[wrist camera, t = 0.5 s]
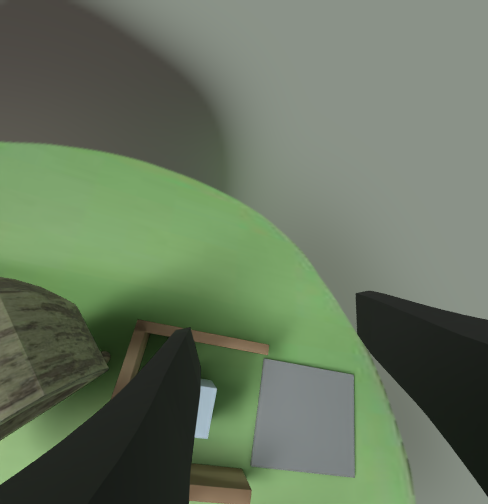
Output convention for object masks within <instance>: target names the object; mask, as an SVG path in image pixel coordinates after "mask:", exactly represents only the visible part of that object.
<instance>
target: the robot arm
mask: <svg viewBox="0 0 488 504" xmlns="http://www.w3.org/2000/svg"><path fill="white" fill-rule="evenodd" d="M356 314H357V334H358V336H359V337H360V339H361V340H362V342H363V343H364V345H365V346H366V347H367V349H368V350H369V352H370V353H371V354H372V355H373V357H374V358H375V359H376V360H377V361H378V362H379V363H380V364H381V365H382V366H383V368H384V369H385V370H386V371H387V372H388V373H389V374H390V375H391V376H392V377H393V378H394V379H395V381H396V382H397V383H398V384H399V385H400V386H401V387H402V388H403V389H404V390H405V391H406V393H408V395H409V396H410V397H411V398H412V399H413V400H414V401H415V402H416V403H417V405H418V406H419V407H420V408H421V409H422V410H423V412H424V413H425V414H426V415H427V416H428V417H429V418H430V420H431V421H432V423H433V424H434V425H435V426H436V428H437V429H438V430H439V432H440V433H441V434H442V435H443V437H444V438H445V439H446V441H447V442H448V443H449V444H450V445H451V447H452V448H453V450H454V451H455V453H456V454H457V455H458V457H459V458H460V459H461V460H462V462H463V463H464V465H465V466H466V467H467V469H468V470H469V471H470V473H471V474H472V475H473V477H474V478H475V479H476V481H477V482H478V484H479V485H480V486H481V488H482V489H483V491H484V492H485V493H486V495H487V496H488V320H486V319H480V318H475V317H471V316H467V315H462V314H458V313H454V312H450V311H445V310H441V309H438V308H434V307H430V306H426V305H423V304H419V303H415V302H412V301H408V300H405V299H401V298H398V297H394V296H390V295H387V294H383V293H379V292H374V291H365V292H360V293H356ZM200 392H201V366H200V362H199V359H198V355H197V351H196V347H195V343H194V339H193V335H192V331H191V327H188V328H183V329H179V330H175V331H174V333H173V334H172V335H171V336H170V337H169V338H168V339H167V341H166V342H165V343H164V344H163V345H162V347H161V348H160V349H159V350H158V351H157V352H156V354H155V355H154V356H153V357H152V358H151V359H150V360H149V362H148V363H147V364H146V365H145V366H144V367H143V368H142V369H141V370H140V371H139V372H138V373H137V374H136V375H135V377H134V378H133V379H132V380H131V381H130V382H129V383H128V384H127V385H126V386H125V387H124V388H123V389H122V390H121V391H120V392H119V393H118V394H117V395H116V396H114V397H113V398H112V399H111V400H110V401H109V402H108V403H107V404H106V405H105V406H103V407H102V408H101V409H100V410H99V411H98V412H97V413H95V414H94V415H93V416H92V417H91V418H89V419H88V420H87V421H86V422H84V423H83V424H82V425H81V426H79V427H78V428H77V429H76V430H75V431H73V432H72V433H71V434H70V435H68V436H67V437H66V438H65V439H63V440H62V441H61V442H60V443H58V444H57V445H56V446H54V447H53V448H52V449H50V450H49V451H47V452H46V453H45V454H43V455H42V456H41V457H39V458H38V459H37V460H35V461H34V462H32V463H31V464H30V465H28V466H27V467H25V468H24V469H22V470H21V471H20V472H18V473H17V474H15V475H14V476H13V477H11V478H10V479H8V480H7V481H5V482H4V483H2V484H1V485H0V504H189V491H190V472H191V462H192V453H193V445H194V438H195V430H196V423H197V416H198V408H199V400H200Z"/></svg>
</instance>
